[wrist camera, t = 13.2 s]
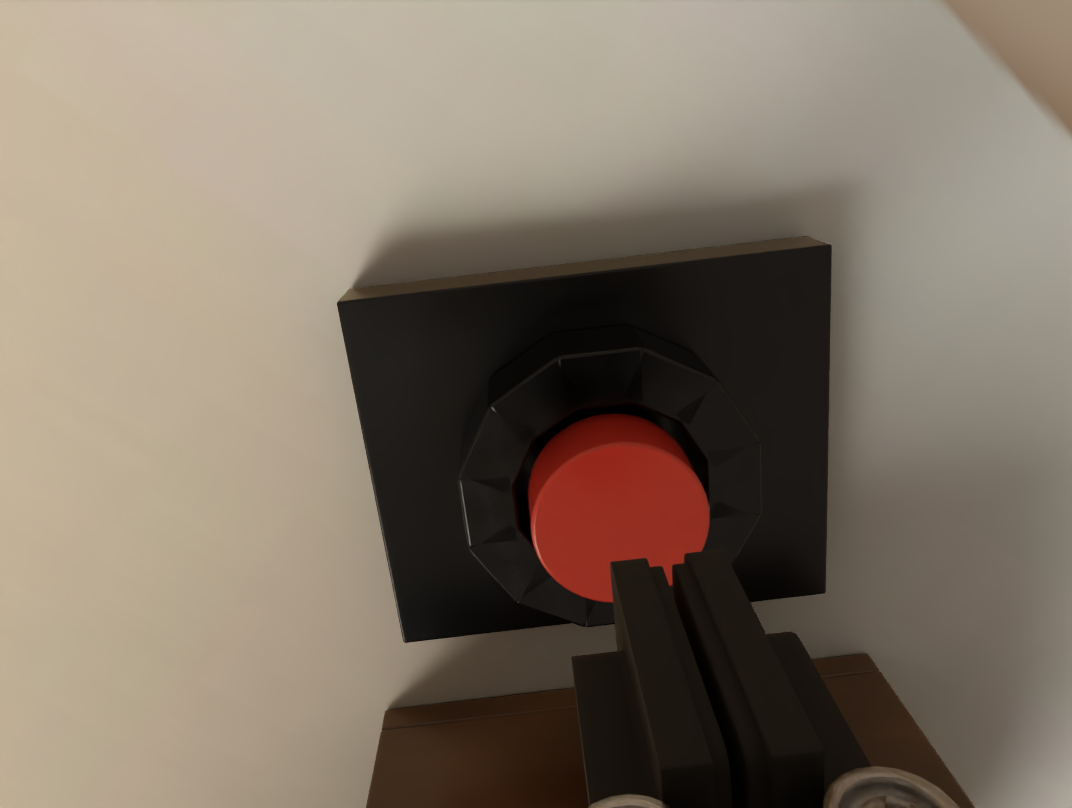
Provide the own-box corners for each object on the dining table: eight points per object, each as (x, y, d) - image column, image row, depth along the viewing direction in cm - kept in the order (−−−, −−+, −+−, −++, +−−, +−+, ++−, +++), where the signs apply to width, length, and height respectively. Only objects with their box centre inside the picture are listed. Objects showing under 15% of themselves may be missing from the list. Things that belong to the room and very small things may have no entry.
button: (537, 569, 18) (541, 614, 16) (519, 422, 17) (521, 454, 15) (694, 550, 18) (713, 593, 16) (687, 402, 17) (707, 432, 15)
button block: (409, 610, 22) (393, 696, 18) (348, 289, 19) (315, 323, 15) (805, 563, 22) (859, 641, 18) (807, 235, 19) (873, 258, 15)
